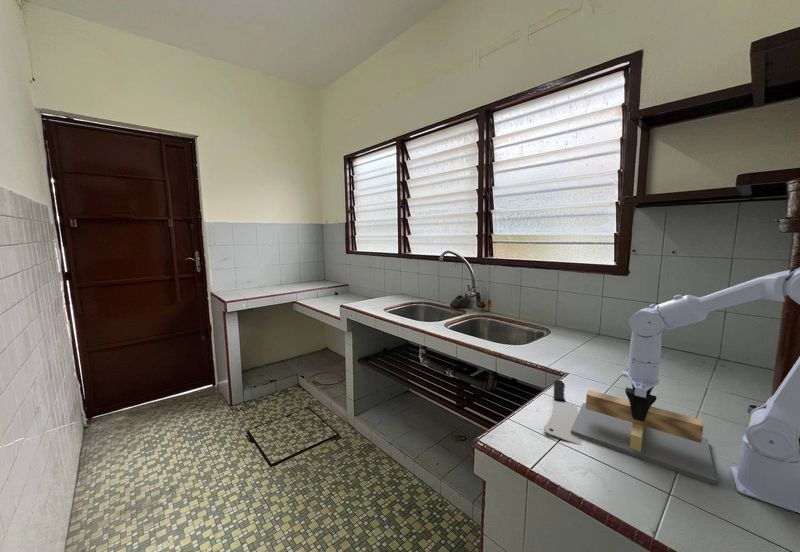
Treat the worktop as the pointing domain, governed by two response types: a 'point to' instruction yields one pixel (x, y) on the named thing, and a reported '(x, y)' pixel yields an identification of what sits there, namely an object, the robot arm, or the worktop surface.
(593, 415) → the ridge stand
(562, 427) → the kitchen cleaver
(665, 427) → the oak beam
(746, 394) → the worktop surface
